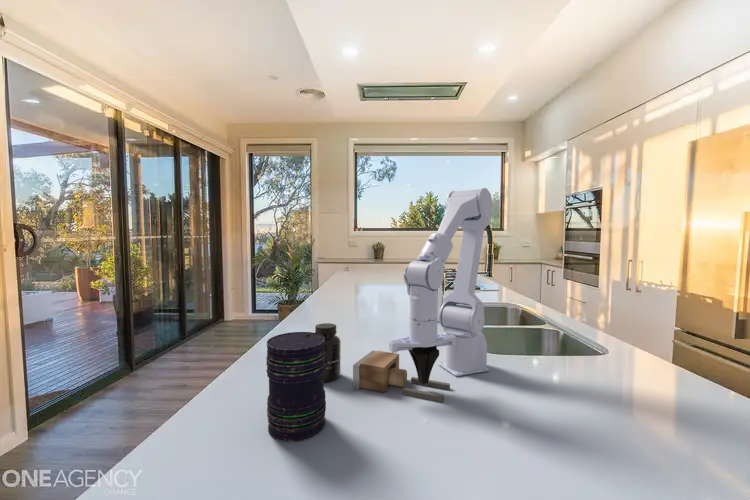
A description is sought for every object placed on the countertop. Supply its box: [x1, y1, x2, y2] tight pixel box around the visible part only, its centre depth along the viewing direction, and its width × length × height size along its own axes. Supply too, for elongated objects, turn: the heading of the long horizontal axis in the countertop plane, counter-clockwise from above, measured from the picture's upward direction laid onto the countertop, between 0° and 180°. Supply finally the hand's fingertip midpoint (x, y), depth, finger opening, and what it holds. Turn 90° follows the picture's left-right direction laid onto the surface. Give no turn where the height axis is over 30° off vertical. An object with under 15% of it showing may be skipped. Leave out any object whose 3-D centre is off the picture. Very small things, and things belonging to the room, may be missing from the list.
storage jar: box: [266, 331, 327, 443], centre depth 58 cm, size 10×10×15 cm
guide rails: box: [401, 376, 451, 403], centre depth 71 cm, size 8×7×1 cm
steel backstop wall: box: [352, 350, 377, 390], centre depth 77 cm, size 2×10×5 cm, turn 156°
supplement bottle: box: [314, 322, 342, 383], centre depth 78 cm, size 7×7×12 cm
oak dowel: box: [388, 367, 408, 388], centre depth 75 cm, size 7×4×4 cm, turn 68°
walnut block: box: [360, 350, 400, 393], centre depth 76 cm, size 6×9×5 cm, turn 156°
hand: (423, 381), depth 72 cm, fingers closed
